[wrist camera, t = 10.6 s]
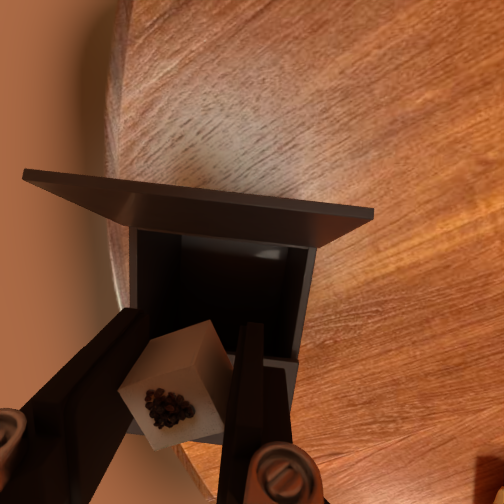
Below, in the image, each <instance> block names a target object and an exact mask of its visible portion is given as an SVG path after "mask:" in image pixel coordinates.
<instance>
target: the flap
mask: <svg viewBox="0 0 504 504" xmlns="http://www.w3.org/2000/svg"><path fill="white" fill-rule="evenodd" d="M22 179H23V180H24V181H26V182H29V183H31V184H33V185H35V186H37V187H40V188H42V189H44V190H46V191H48V192H51V193H53V194H55V195H57V196H59V197H62V198H64V199H66V200H68V201H70V202H73V203H75V204H77V205H79V206H82V207H84V208H86V209H88V210H90V211H92V212H95V213H97V214H99V215H101V216H103V217H106V218H108V219H110V220H112V221H114V222H117V223H119V224H121V225H123V226H131V227H140V228H148V229H157V230H166V231H174V232H183V233H192V234H200V235H209V236H218V237H226V238H235V239H244V240H252V241H261V242H270V243H278V244H287V245H296V246H304V247H313V248H320V247H322V246H324V245H326V244H328V243H330V242H332V241H334V240H336V239H337V238H339V237H341V236H343V235H345V234H347V233H349V232H351V231H353V230H354V229H356V228H358V227H360V226H362V225H364V224H366V223H368V222H370V221H371V220H373V219H374V208H368V207H359V206H350V205H341V204H333V203H324V202H315V201H306V200H298V199H289V198H280V197H271V196H262V195H254V194H245V193H236V192H227V191H218V190H210V189H201V188H192V187H183V186H174V185H166V184H157V183H148V182H139V181H130V180H122V179H113V178H104V177H95V176H86V175H77V174H69V173H60V172H51V171H42V170H34V169H24V172H23V177H22Z"/></svg>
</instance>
